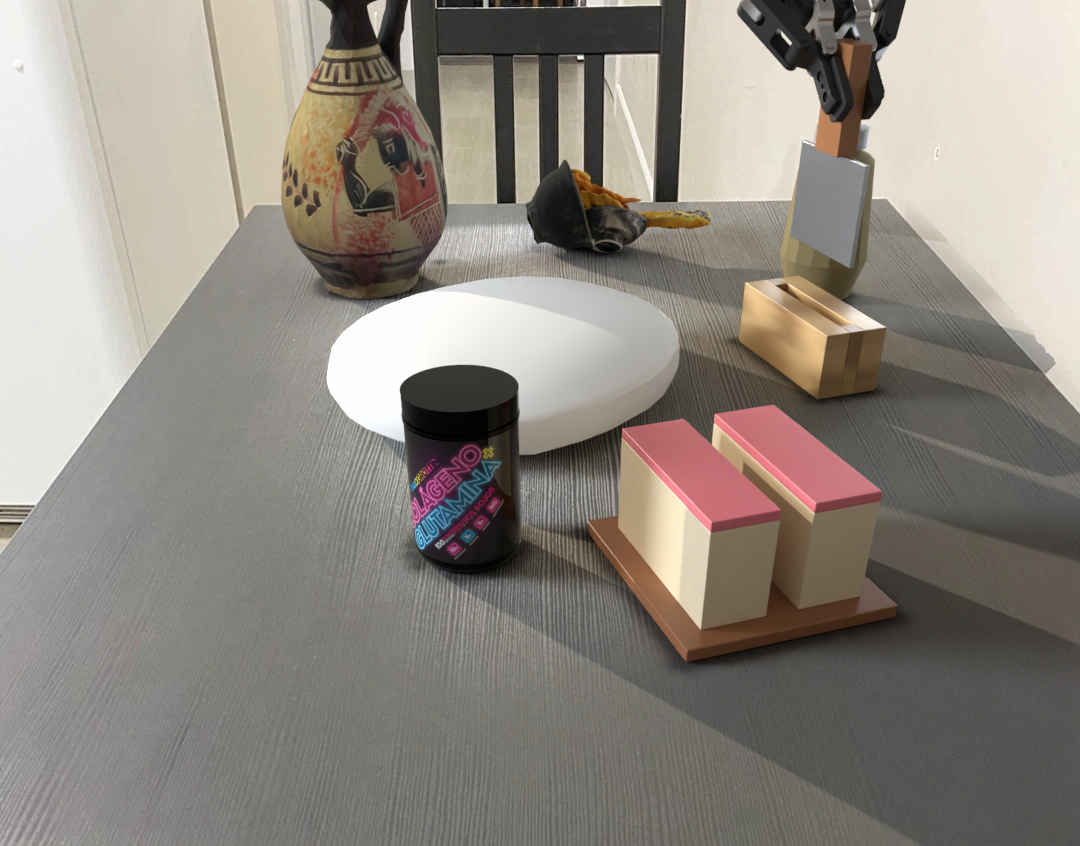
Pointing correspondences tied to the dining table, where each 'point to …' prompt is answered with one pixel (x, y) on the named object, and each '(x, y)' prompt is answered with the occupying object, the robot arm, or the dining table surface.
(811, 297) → the knife block
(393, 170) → the ceramic jug
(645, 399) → the white round flat disc
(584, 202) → the fried shrimp in bowl
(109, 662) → the dining table surface
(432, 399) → the supplement container
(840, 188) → the knife
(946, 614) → the dining table surface
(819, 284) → the squeeze bottle
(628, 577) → the cake
